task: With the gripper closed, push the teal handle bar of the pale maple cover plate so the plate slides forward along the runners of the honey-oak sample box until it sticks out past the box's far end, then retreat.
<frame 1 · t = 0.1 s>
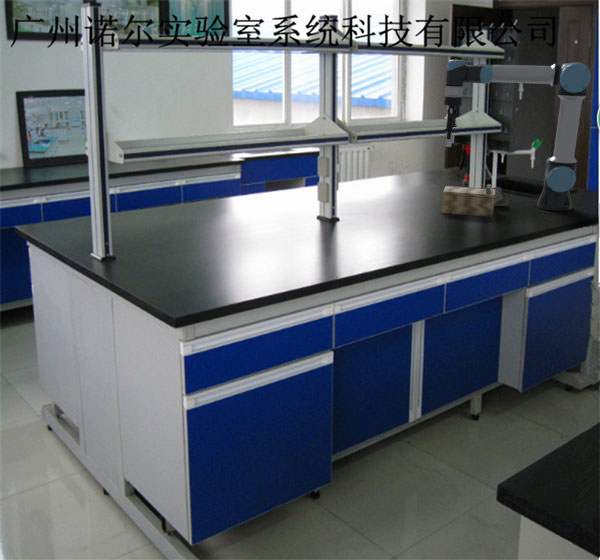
hand: (449, 144, 322), 28 cm above the worktop, fingers open, 13 cm apart
sample box: (467, 211, 321), on the worktop
cover plate: (469, 189, 317), point 10 cm above the worktop, slide at 0.0 cm
stone: (493, 206, 332), on the worktop
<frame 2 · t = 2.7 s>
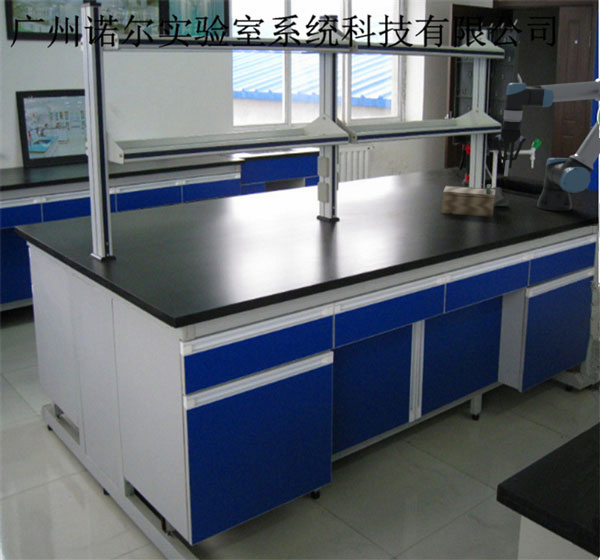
hand: (505, 175, 311), 17 cm above the worktop, fingers closed
nothing on the worktop moved.
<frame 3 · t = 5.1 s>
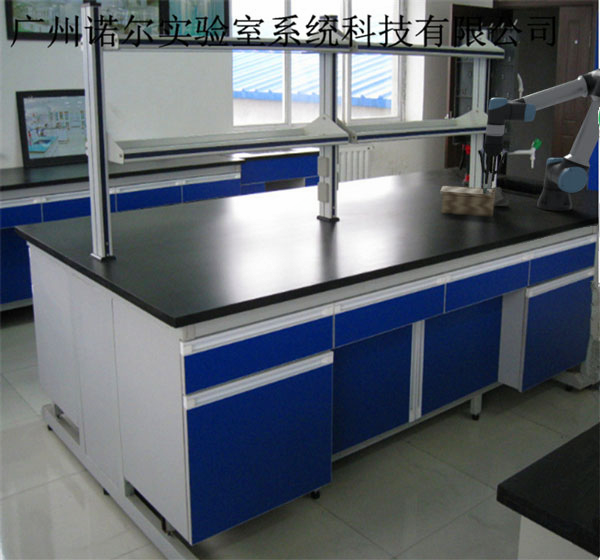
hand: (488, 188, 315), 11 cm above the worktop, fingers closed
cover plate: (466, 188, 318), point 10 cm above the worktop, slide at 1.4 cm, touching gripper
everything else where it was.
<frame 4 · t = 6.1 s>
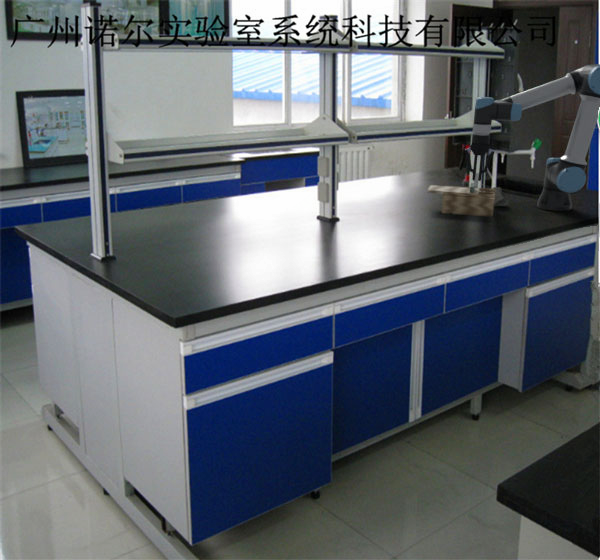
hand: (475, 187, 316), 11 cm above the worktop, fingers closed
cover plate: (453, 187, 319), point 10 cm above the worktop, slide at 7.0 cm, touching gripper
everything else where it was.
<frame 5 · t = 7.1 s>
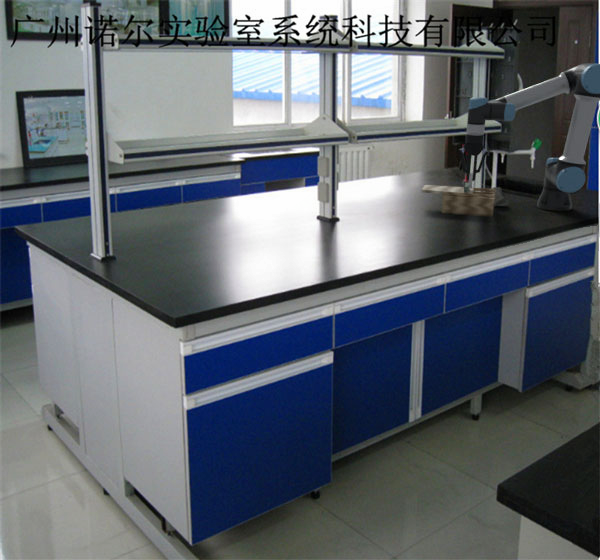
hand: (469, 187, 317), 11 cm above the worktop, fingers closed
cover plate: (448, 187, 320), point 10 cm above the worktop, slide at 9.5 cm, touching gripper
everything else where it was.
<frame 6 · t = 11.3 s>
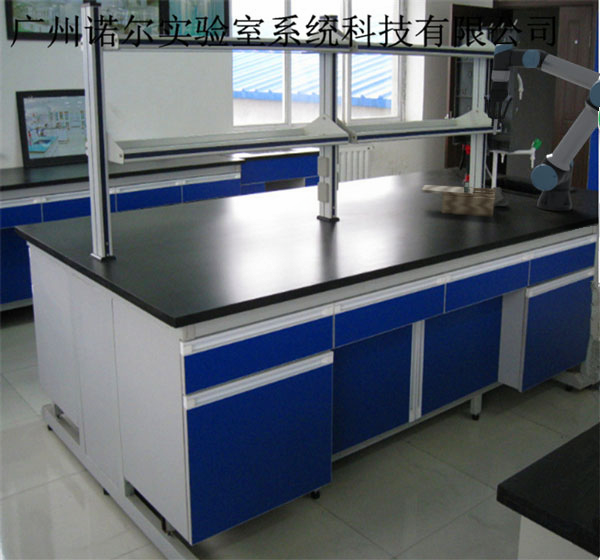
hand: (494, 134, 326), 32 cm above the worktop, fingers closed
cover plate: (448, 187, 320), point 10 cm above the worktop, slide at 9.5 cm
everything else where it was.
at the end: cover plate slide at 9.5 cm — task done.
